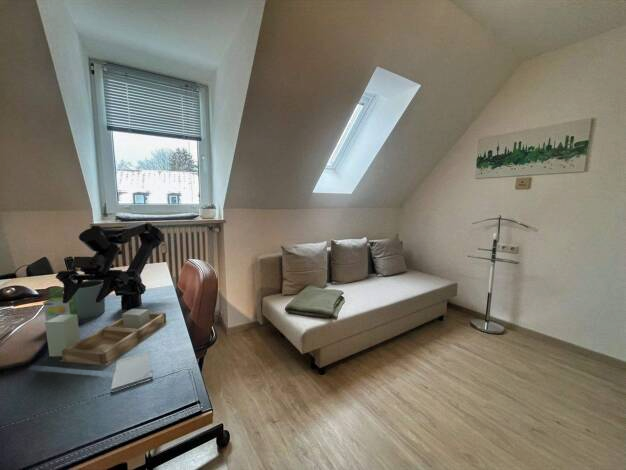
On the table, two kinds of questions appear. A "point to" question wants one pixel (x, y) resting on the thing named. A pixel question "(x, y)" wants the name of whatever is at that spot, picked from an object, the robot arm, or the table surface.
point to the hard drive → (131, 371)
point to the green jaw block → (61, 333)
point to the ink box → (59, 305)
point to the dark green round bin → (89, 299)
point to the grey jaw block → (135, 318)
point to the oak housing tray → (111, 341)
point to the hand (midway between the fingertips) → (80, 302)
